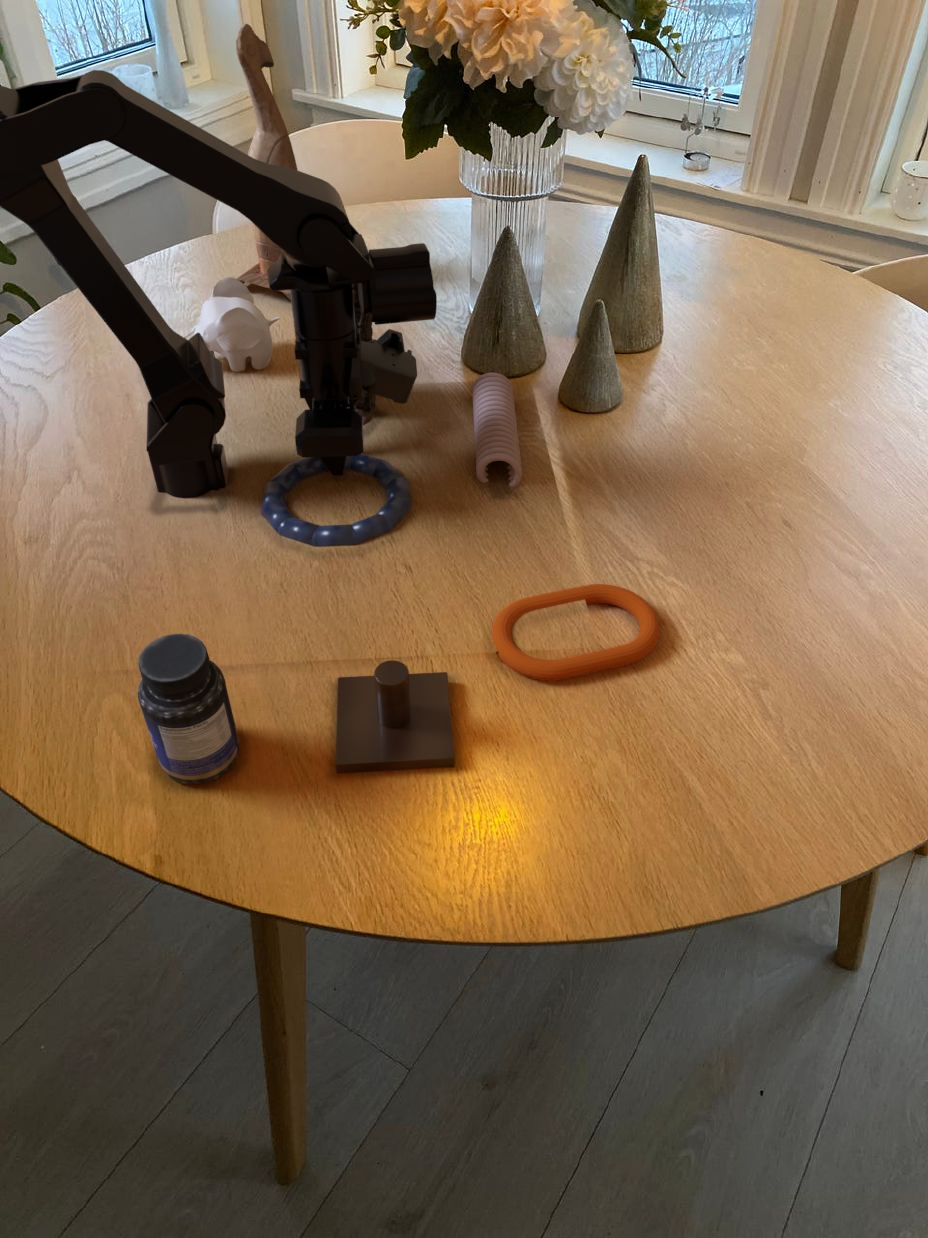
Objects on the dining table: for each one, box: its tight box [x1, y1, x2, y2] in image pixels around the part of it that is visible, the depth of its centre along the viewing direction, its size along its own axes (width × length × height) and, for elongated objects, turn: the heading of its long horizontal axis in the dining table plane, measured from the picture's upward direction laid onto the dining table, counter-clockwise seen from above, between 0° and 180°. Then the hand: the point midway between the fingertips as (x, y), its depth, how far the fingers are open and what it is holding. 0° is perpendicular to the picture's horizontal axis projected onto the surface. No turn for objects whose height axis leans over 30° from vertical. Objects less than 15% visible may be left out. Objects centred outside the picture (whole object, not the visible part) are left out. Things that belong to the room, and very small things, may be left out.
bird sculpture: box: [235, 23, 299, 301], centre depth 123 cm, size 11×12×32 cm
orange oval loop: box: [491, 583, 661, 681], centre depth 83 cm, size 10×2×15 cm
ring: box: [260, 453, 412, 548], centre depth 96 cm, size 15×15×2 cm
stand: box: [335, 659, 456, 775], centre depth 74 cm, size 9×9×6 cm
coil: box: [471, 371, 523, 488], centre depth 104 cm, size 5×5×18 cm
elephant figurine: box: [184, 276, 281, 373], centre depth 116 cm, size 10×12×9 cm
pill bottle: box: [137, 633, 240, 785], centre depth 70 cm, size 6×6×11 cm
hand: (338, 465), depth 101 cm, fingers open, 3 cm apart
